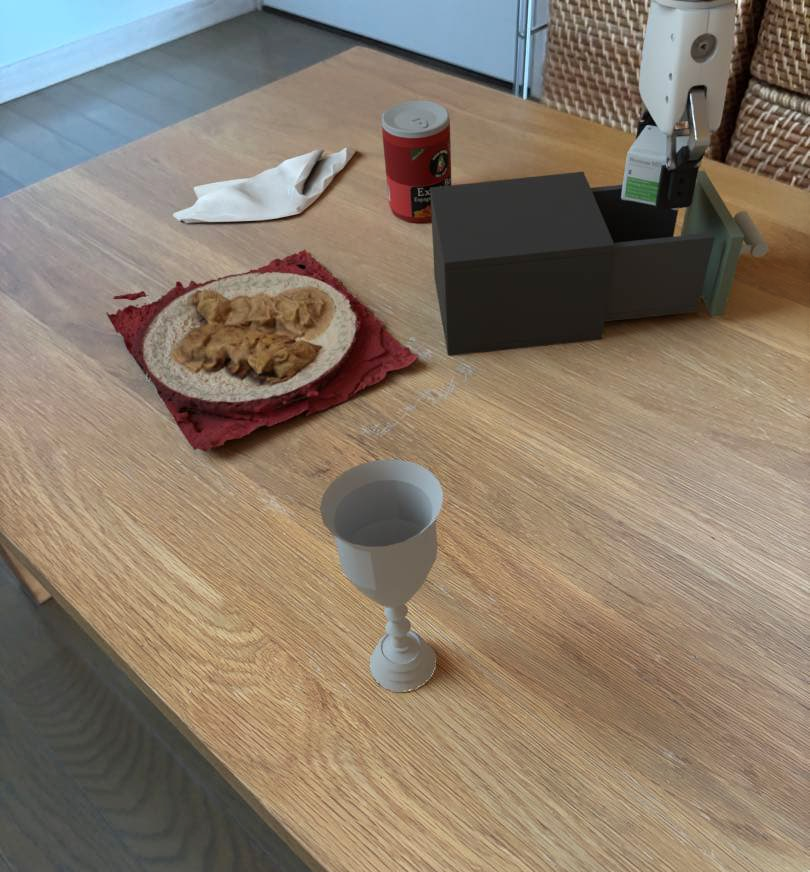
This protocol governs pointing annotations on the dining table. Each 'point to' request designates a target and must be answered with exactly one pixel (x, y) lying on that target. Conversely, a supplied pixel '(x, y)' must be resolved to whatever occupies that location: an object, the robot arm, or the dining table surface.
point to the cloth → (267, 190)
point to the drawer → (674, 253)
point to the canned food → (415, 156)
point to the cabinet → (520, 262)
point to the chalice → (388, 554)
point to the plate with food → (256, 348)
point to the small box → (646, 165)
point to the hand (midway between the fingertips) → (660, 183)
